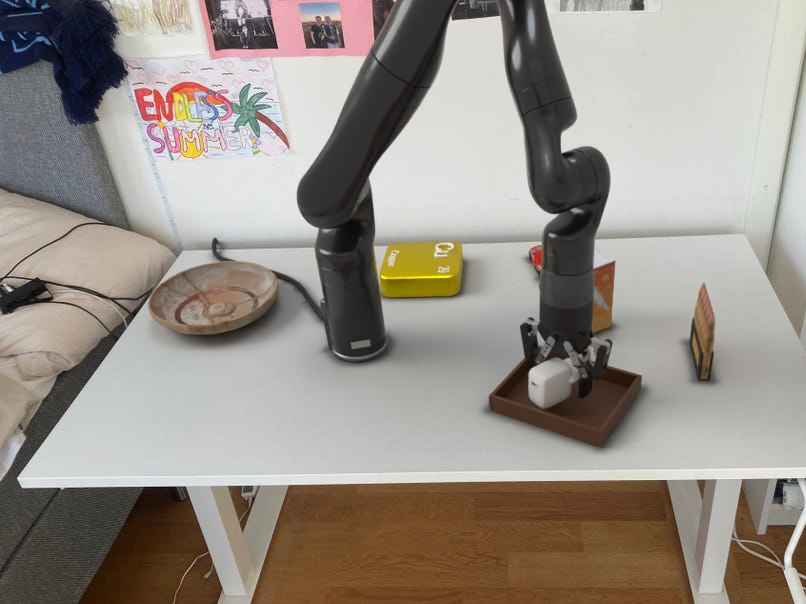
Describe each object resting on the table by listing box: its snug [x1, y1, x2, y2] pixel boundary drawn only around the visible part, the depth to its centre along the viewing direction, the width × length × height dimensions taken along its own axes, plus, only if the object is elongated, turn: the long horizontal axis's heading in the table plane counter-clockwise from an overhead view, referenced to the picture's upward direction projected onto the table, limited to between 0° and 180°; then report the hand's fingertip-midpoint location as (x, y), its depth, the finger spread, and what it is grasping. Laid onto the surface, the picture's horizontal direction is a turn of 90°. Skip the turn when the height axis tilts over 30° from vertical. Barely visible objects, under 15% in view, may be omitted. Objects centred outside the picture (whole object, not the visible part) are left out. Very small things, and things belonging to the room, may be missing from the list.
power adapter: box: [528, 358, 594, 409], centre depth 117 cm, size 11×5×6 cm, turn 127°
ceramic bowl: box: [147, 260, 280, 336], centre depth 144 cm, size 23×24×5 cm
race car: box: [528, 244, 542, 279], centre depth 153 cm, size 13×5×4 cm, turn 9°
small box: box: [592, 248, 616, 334], centre depth 132 cm, size 8×6×13 cm
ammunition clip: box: [688, 282, 716, 382], centre depth 122 cm, size 11×2×12 cm, turn 175°
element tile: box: [378, 240, 464, 299], centre depth 152 cm, size 15×15×5 cm
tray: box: [488, 345, 643, 449], centre depth 119 cm, size 18×15×3 cm
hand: (563, 388), depth 118 cm, fingers closed on power adapter, 6 cm apart
